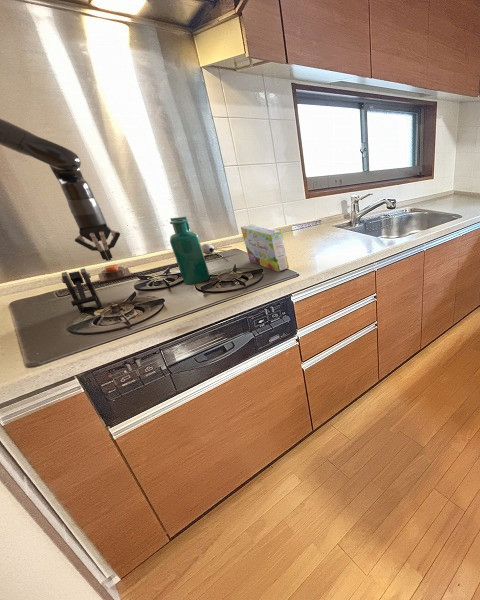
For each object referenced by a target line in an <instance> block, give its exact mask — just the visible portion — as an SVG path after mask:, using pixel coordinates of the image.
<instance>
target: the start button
mask: <svg viewBox="0 0 480 600" xmlns="http://www.w3.org/2000/svg"><path fill="white" fill-rule="evenodd" d="M118 267H119V265H118V264H109V265H107V266H105V267H104V270H105V269H106V271H107V272H112V271H116V270H119V268H118Z"/></svg>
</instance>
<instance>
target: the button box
mask: <svg viewBox="0 0 480 600" xmlns="http://www.w3.org/2000/svg"><path fill="white" fill-rule="evenodd" d="M118 268H119V270H116V271H112V272H107V271H106V269H105V268H104V269H103V270H101V272H100V273H98V274H97V275H98V280H99V282H100V284H106V283H110V282H115V281H119V280H125V279H128V278H132V277H133V275H132V273H131V271H130V270H129V269H130V268H129V267H124V266H118Z"/></svg>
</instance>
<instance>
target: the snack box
mask: <svg viewBox="0 0 480 600" xmlns="http://www.w3.org/2000/svg"><path fill="white" fill-rule="evenodd" d="M240 230H241V235H242V238H243V241H244V245H245V249H246V252H247V256H248V260H249V262H250V263H253V264H255V265H259V266H261V267H264V268H266V269H270V270H272V271H274V272H277V273H279V272H282V271H285V270H287V269H290V266H289V261H288V256H287V251H286V246H285V241H284V237H283V236H284V235H283V232H282V231H280V230H276V229H272V228H268V227H264V226H260V225H256V224H247V225H243V226H240Z"/></svg>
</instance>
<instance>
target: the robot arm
mask: <svg viewBox="0 0 480 600" xmlns="http://www.w3.org/2000/svg"><path fill="white" fill-rule="evenodd" d="M0 146H1V147H4V148H6V149H9V150H11V151H14V152H16V153H18V154H22V155H23V156H28V157H31V158H33V159H36V160H38V161H40V162H42V163H44V164H47V165H48V166H49V169H50V170H51V171H52V173H53V175H54V177H55V178H56V180H57V181H58V184H59V185H60V189H61V190H62V193H63V195H64V197H65V199H66V201H67V206H68V208H69V210H70V213H71V215H72V216H73V218H74V220H75V223H76V225H77V227H78V233H79V234H78V236H76V237H75V238H74V242H75V243H77V244H79V245H81V246H83V247H84V248H86V249H88V250H90V251H92V252H94V251H95V252H98V253H99V254H100V256H101V259H102V260H104V261H106V262H108V261H112V259H113V254H112V252H111V249H112V248H115V246H116V244H117V243H118V240H119V238H120V236H121V233H120V231H118V230H117V231H116V230H113V229H112V228H111V227H110V226H109V225H108V223H107V221H106V219H105V216H104V214H103V211H102V208H101V207H100V205H99V203H98V200H97V199H96V197H95V195H94V192H93V191H92V188H91V186H90V184H89V183H88V181H87V180H86V179H85V178H84V176H83V173H82V171H81V169H80V168H81V165H82V162H81V159H80V157H79V156H78V154H77V153H76V152H74V151H73V150H71V149H69V148H67V147H65V146H63V145H60V144H58V143H55V142H53V141H51V140H48V139H45V138H43V137H40V136H38V135H36V134H35V133H33V132H31V131H29V130H27V129H25V128H22V127H21V126H18V125H16V124H14V123H12V122H10V121H7V120H5V119H3V118H1V117H0ZM110 235H111V237H112V238H111V240H110V242H109V243H108V242H107V240H108V239H109V237H110ZM85 239H86V240H88V241H89V243H88V242H87V241H85ZM90 242H92V243H93V244H94V245H92V244H90ZM100 242H102V245H101V243H100ZM102 246H103V247H102Z"/></svg>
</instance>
